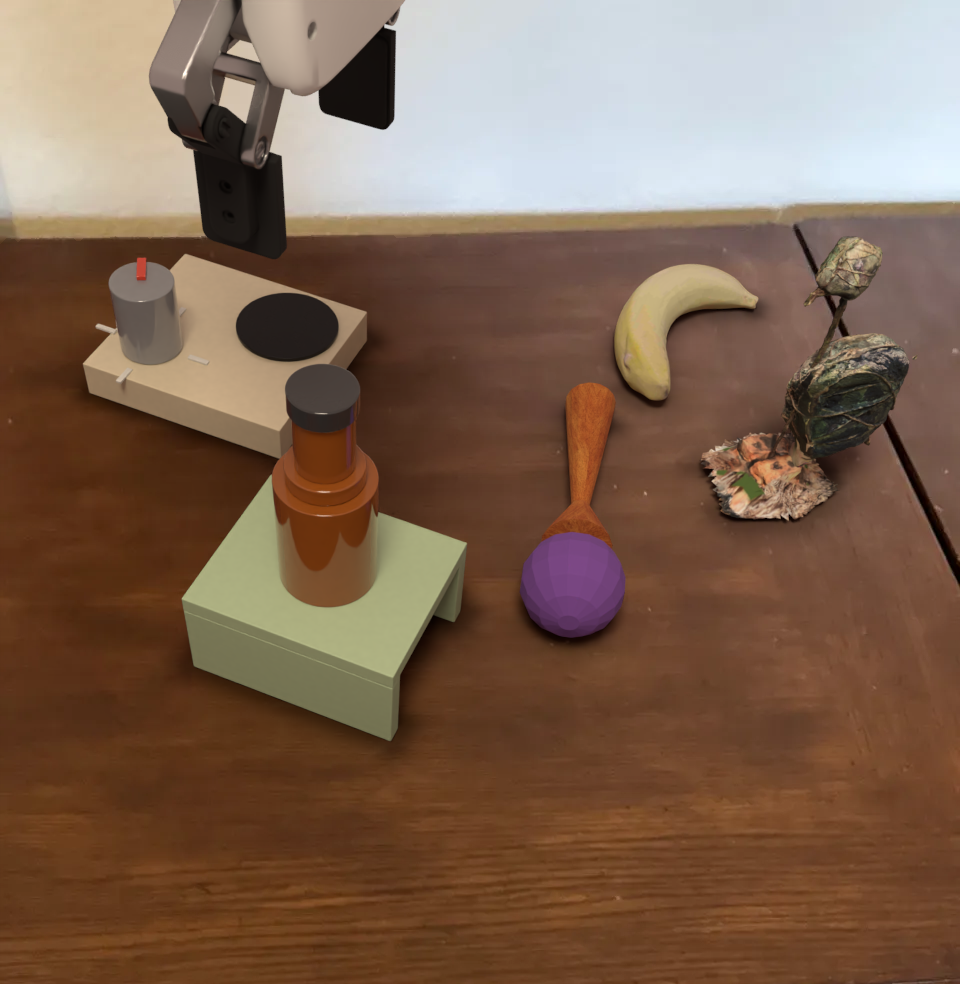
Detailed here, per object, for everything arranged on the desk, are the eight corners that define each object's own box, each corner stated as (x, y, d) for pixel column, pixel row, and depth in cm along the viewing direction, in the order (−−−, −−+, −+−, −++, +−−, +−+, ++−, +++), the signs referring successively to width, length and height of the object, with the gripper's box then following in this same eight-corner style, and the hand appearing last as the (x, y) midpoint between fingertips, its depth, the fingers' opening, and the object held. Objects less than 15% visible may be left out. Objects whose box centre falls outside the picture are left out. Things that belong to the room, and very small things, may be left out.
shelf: (193, 666, 70) (180, 598, 65) (276, 544, 75) (270, 473, 71) (390, 742, 68) (393, 677, 63) (460, 610, 73) (467, 542, 69)
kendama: (649, 381, 81) (638, 602, 68) (617, 449, 85) (601, 669, 72) (562, 354, 80) (533, 572, 67) (534, 424, 85) (502, 641, 71)
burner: (217, 342, 82) (216, 339, 82) (265, 285, 86) (265, 281, 86) (310, 374, 81) (310, 370, 81) (355, 314, 85) (355, 310, 85)
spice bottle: (261, 587, 66) (243, 405, 56) (306, 521, 69) (296, 337, 59) (351, 621, 65) (350, 441, 55) (393, 552, 68) (398, 370, 58)
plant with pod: (881, 527, 80) (1010, 264, 64) (708, 526, 79) (796, 258, 63) (850, 438, 85) (963, 173, 69) (687, 436, 84) (763, 166, 68)
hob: (69, 393, 82) (61, 361, 80) (175, 278, 90) (170, 246, 88) (277, 465, 79) (274, 435, 77) (367, 340, 87) (367, 309, 85)
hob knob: (183, 364, 81) (173, 296, 77) (119, 366, 80) (105, 298, 76) (183, 324, 83) (174, 256, 79) (121, 325, 83) (108, 257, 78)
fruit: (570, 371, 87) (577, 333, 84) (675, 268, 95) (684, 230, 92) (659, 417, 85) (669, 380, 82) (759, 307, 93) (770, 270, 90)
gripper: (257, -237, 30) (291, 334, 44) (509, -407, 40) (473, 99, 54) (-14, -301, 31) (101, 274, 45) (297, -450, 41) (314, 55, 55)
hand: (304, 178), depth 49 cm, fingers open, 9 cm apart
